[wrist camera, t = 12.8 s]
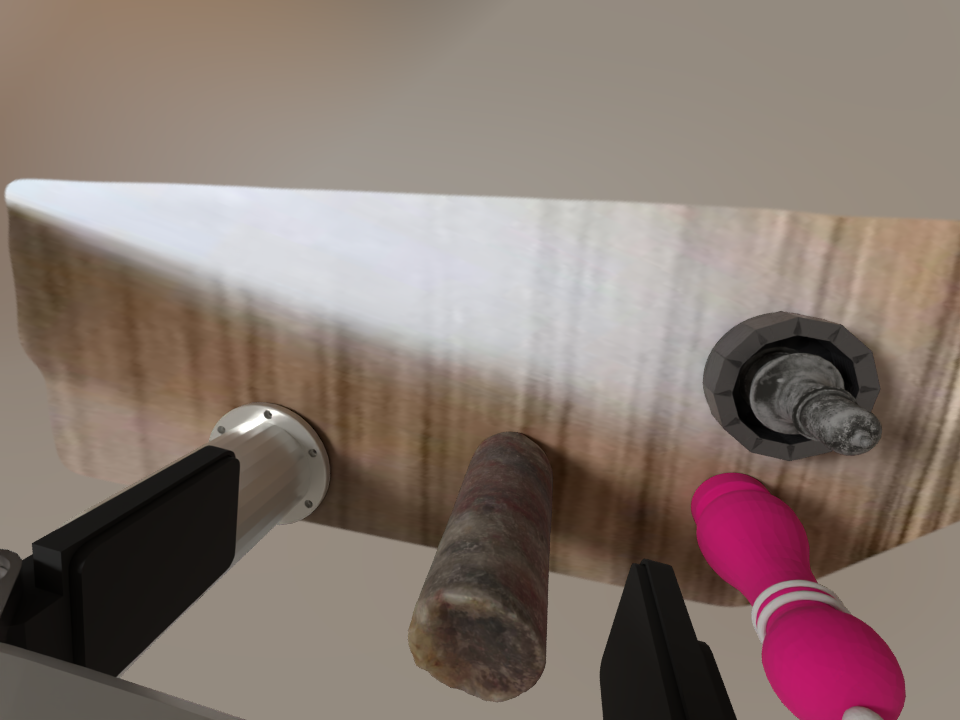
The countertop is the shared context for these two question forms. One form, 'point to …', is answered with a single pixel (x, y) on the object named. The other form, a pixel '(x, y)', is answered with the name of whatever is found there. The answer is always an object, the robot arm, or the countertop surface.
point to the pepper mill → (794, 607)
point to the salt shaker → (806, 400)
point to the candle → (490, 576)
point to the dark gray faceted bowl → (793, 334)
